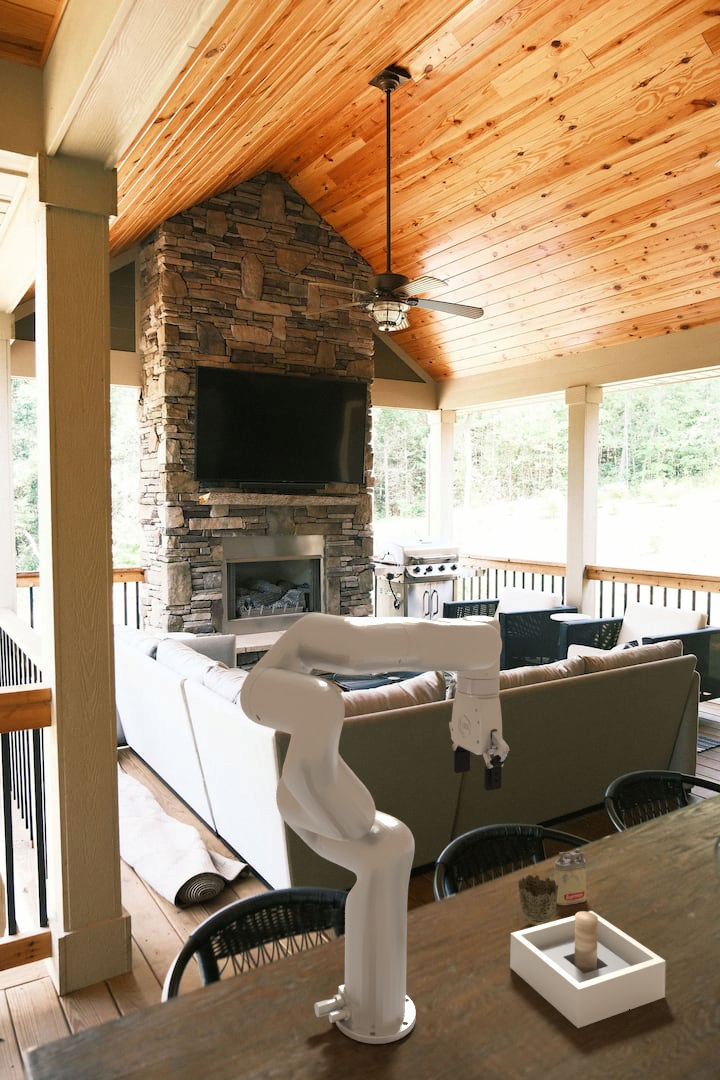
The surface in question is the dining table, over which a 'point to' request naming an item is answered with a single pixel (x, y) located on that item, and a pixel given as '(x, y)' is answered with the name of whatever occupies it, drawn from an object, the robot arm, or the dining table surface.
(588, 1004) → the box
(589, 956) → the peg
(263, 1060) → the dining table surface
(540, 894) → the cup
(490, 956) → the dining table surface
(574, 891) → the lighter
